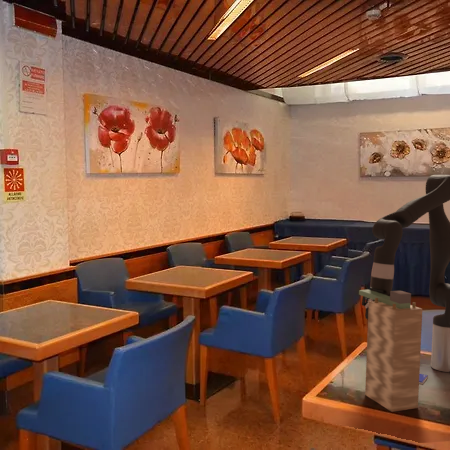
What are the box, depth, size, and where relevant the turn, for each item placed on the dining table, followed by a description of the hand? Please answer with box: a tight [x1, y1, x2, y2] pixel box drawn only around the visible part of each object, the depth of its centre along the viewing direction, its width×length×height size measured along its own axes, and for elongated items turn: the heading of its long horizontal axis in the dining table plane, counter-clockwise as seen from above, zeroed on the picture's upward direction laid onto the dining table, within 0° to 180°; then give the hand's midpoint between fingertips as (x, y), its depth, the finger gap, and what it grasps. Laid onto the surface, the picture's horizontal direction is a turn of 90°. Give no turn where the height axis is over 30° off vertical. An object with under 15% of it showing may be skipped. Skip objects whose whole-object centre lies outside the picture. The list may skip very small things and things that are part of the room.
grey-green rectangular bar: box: [358, 289, 412, 309], centre depth 173 cm, size 22×4×5 cm, turn 20°
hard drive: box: [419, 373, 429, 385], centre depth 192 cm, size 2×8×12 cm
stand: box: [364, 298, 423, 413], centre depth 169 cm, size 14×10×34 cm
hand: (377, 321), depth 183 cm, fingers open, 8 cm apart
